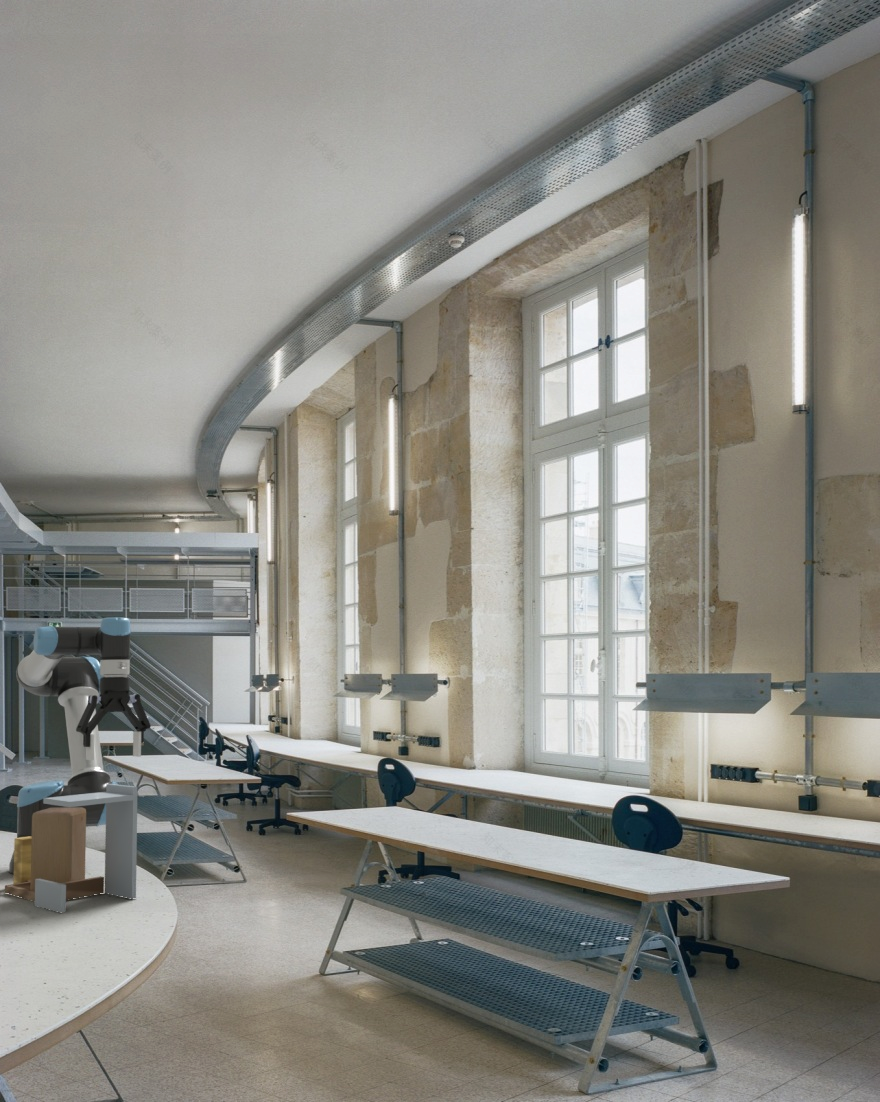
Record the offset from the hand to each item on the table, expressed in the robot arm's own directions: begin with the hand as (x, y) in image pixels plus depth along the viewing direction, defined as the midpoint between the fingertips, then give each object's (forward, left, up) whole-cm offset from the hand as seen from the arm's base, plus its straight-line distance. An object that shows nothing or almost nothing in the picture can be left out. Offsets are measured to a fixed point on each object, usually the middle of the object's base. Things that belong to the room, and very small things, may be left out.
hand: (113, 758), depth 288 cm
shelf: (+21, -19, -31) cm, 42 cm away
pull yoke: (+3, -19, -31) cm, 36 cm away
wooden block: (+8, -19, -31) cm, 37 cm away
